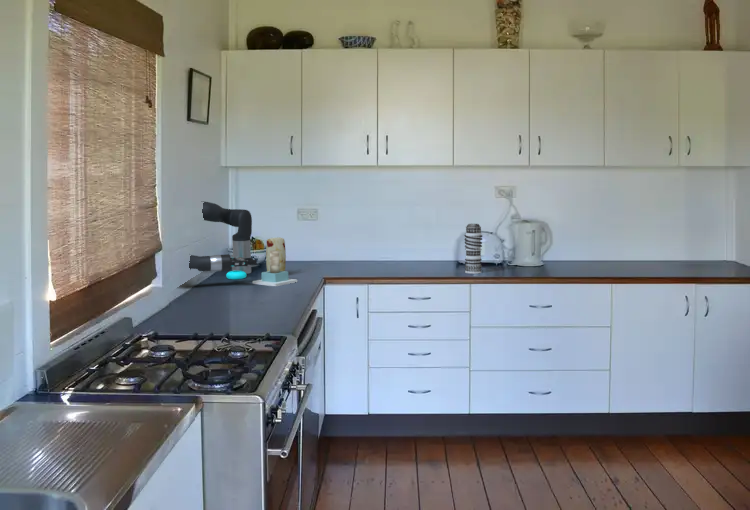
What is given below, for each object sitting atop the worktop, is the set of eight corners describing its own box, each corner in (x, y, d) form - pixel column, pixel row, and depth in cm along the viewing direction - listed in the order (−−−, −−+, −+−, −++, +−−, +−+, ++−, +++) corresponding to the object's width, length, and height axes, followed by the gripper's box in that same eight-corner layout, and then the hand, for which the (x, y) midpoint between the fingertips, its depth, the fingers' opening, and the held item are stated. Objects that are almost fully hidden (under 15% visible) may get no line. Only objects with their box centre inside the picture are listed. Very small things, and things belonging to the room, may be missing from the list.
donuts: (222, 258, 368) (242, 256, 373) (223, 277, 370) (242, 276, 375) (229, 260, 360) (248, 258, 365) (230, 280, 361) (249, 278, 366)
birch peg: (268, 280, 351) (267, 251, 349) (274, 279, 354) (274, 250, 353) (275, 281, 348) (274, 251, 347) (281, 280, 352) (281, 251, 350)
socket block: (252, 283, 350) (252, 272, 349) (274, 279, 362) (274, 269, 361) (276, 286, 341) (275, 275, 341) (297, 282, 353) (297, 271, 353)
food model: (267, 278, 367) (266, 238, 364) (266, 276, 373) (265, 236, 371) (286, 277, 369) (285, 237, 367) (285, 275, 376) (284, 236, 373)
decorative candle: (479, 274, 374) (479, 224, 371) (461, 273, 378) (462, 224, 375) (484, 271, 382) (484, 223, 379) (467, 270, 386) (467, 223, 383)
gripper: (221, 256, 334) (257, 254, 340) (217, 253, 348) (251, 251, 353) (222, 272, 335) (257, 270, 341) (217, 268, 349) (252, 267, 354)
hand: (254, 261), depth 347 cm, fingers open, 8 cm apart
